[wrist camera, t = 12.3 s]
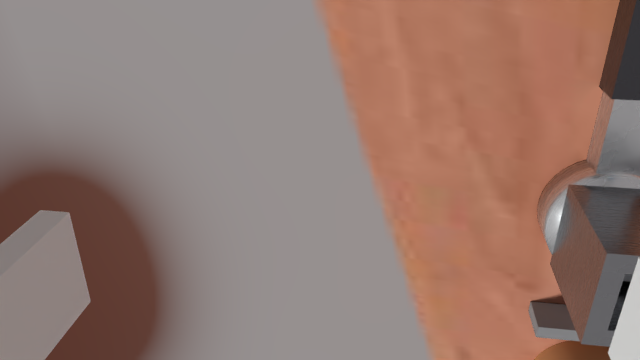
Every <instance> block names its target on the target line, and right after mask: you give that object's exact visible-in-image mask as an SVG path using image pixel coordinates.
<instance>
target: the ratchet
mask: <svg viewBox="0 0 640 360" xmlns="http://www.w3.org/2000/svg"><path fill="white" fill-rule="evenodd" d="M599 87H600V88H601V89H602V90H603V93H602V97H601V101H600V105H599V110H598V114H597V118H596V122H595V126H594V130H593V134H592V138H591V142H590V146H589V151H588V155H587V159H586V160H583V161H580V162H577V163H575V164H573V165H571V166H568V167H567V168H565V169H563V170H562V171H561V172H559V173H558V174H557V175H555V176H554V177H553V178H552V179H551V180H550V181H549V183H548V184H547V185H546V187H545V188H544V190H543V191H542V193H541V196H540V198H539V202H538V207H537V217H538V222H539V225H540V227H541V230H542V232H543V235H544V237H545V240H546V242H547V245H548V247H549V250H550V252H551V253H552V254H553V249H554V245H555V241H556V237H557V232H558V228H559V224H560V219H561V215H562V211H563V207H564V202H565V198H566V194H567V189H568V185H569V184H571V185H587V186H603V187H619V188H634V189H640V0H620V2H619V6H618V10H617V15H616V19H615V23H614V27H613V31H612V35H611V40H610V44H609V48H608V52H607V56H606V60H605V65H604V69H603V73H602V77H601V81H600V85H599ZM632 276H633V274H625V276H624V279H623V281H629V282H631V280H632Z"/></svg>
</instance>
